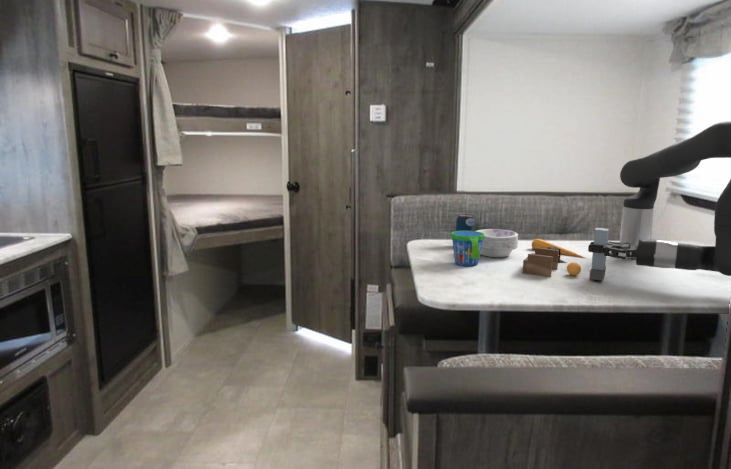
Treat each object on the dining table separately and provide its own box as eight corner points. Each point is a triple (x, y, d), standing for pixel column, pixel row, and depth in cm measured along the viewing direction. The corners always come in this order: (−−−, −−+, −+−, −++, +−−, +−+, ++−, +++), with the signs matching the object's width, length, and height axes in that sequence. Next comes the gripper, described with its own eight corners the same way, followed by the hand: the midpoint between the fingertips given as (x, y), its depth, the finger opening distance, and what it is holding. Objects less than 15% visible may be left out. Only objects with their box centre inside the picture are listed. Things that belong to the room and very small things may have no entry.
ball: (567, 272, 156) (568, 260, 155) (581, 274, 154) (582, 261, 153) (565, 275, 152) (566, 262, 151) (579, 277, 150) (580, 264, 149)
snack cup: (445, 258, 173) (446, 228, 171) (476, 258, 173) (478, 228, 171) (455, 270, 157) (456, 237, 155) (488, 270, 158) (490, 238, 156)
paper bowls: (464, 254, 178) (465, 232, 176) (484, 247, 189) (485, 226, 188) (505, 262, 168) (506, 238, 166) (524, 254, 179) (525, 232, 178)
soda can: (475, 249, 187) (477, 216, 184) (456, 248, 187) (458, 216, 184) (472, 245, 193) (473, 213, 191) (453, 244, 193) (455, 213, 191)
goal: (530, 265, 164) (532, 246, 163) (557, 268, 160) (559, 250, 159) (522, 273, 155) (523, 253, 154) (550, 277, 151) (552, 257, 150)
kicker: (593, 271, 154) (597, 226, 152) (605, 273, 153) (609, 227, 150) (589, 278, 147) (593, 231, 144) (602, 280, 145) (607, 232, 142)
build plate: (571, 265, 167) (573, 252, 166) (550, 265, 166) (551, 252, 165) (554, 256, 179) (555, 244, 178) (534, 256, 178) (535, 244, 177)
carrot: (529, 251, 188) (529, 241, 186) (536, 245, 190) (535, 235, 188) (583, 266, 175) (583, 256, 172) (589, 260, 177) (589, 249, 175)
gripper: (658, 236, 146) (593, 230, 155) (658, 245, 134) (587, 238, 143) (655, 261, 148) (591, 254, 156) (654, 272, 136) (585, 264, 144)
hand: (589, 246), depth 149 cm, fingers closed on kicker, 3 cm apart
